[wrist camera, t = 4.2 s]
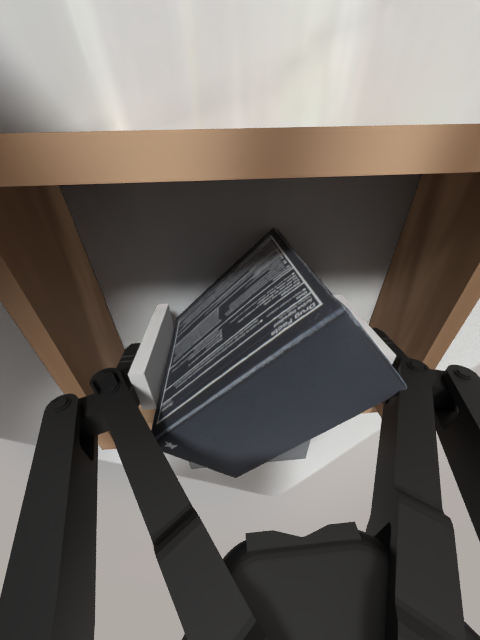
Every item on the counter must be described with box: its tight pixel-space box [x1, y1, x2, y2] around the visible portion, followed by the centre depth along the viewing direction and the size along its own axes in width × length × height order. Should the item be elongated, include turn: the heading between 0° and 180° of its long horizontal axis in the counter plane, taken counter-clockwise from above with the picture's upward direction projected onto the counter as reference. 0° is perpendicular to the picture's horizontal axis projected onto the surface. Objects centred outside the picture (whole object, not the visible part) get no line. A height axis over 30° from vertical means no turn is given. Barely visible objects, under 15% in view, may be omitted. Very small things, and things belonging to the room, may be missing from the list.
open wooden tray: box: [0, 124, 480, 450], centre depth 16 cm, size 24×20×8 cm
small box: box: [151, 229, 407, 478], centre depth 15 cm, size 11×6×10 cm, turn 133°
